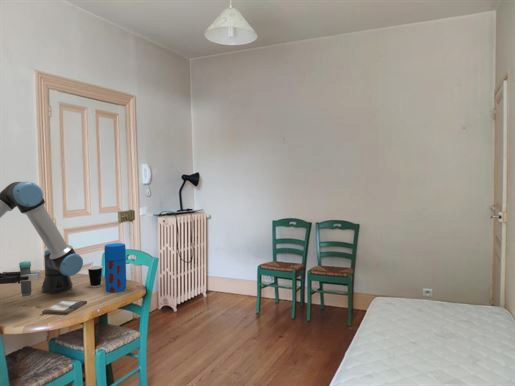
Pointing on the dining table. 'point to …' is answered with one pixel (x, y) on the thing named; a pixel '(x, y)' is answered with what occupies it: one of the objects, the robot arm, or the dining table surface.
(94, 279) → the dixie cup
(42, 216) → the robot arm
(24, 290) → the marker
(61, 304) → the brown picture frame
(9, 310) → the dining table surface
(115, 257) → the thermos
